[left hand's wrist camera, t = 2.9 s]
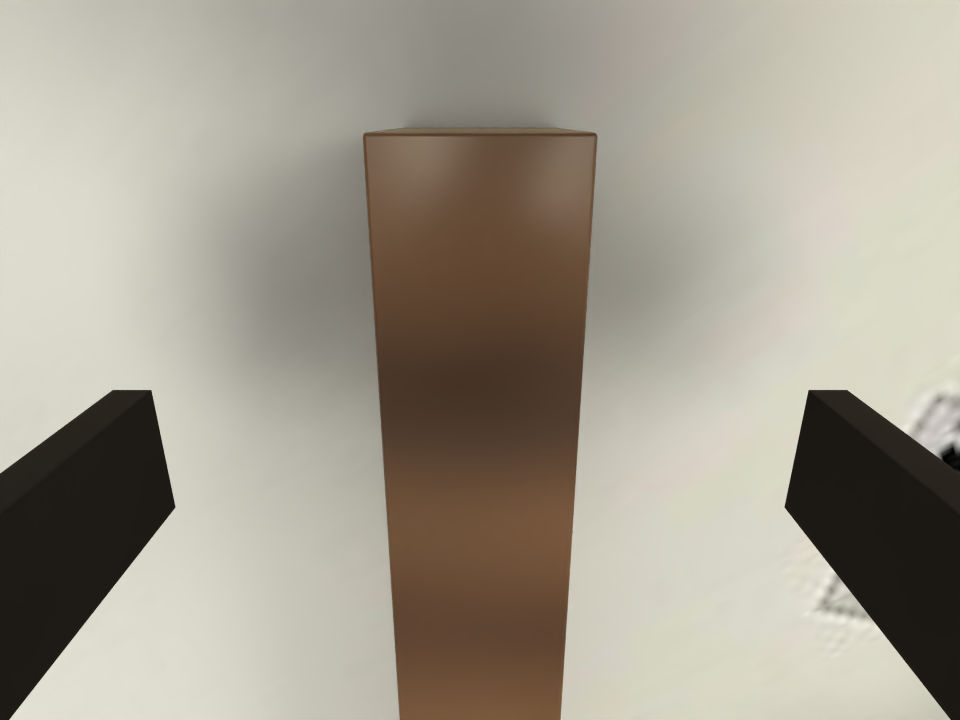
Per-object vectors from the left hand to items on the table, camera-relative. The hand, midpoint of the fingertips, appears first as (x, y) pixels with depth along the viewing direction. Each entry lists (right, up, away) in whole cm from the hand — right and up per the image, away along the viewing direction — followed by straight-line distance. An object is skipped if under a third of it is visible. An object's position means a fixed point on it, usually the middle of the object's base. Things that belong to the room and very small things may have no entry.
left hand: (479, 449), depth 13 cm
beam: (0, -13, +19) cm, 23 cm away
